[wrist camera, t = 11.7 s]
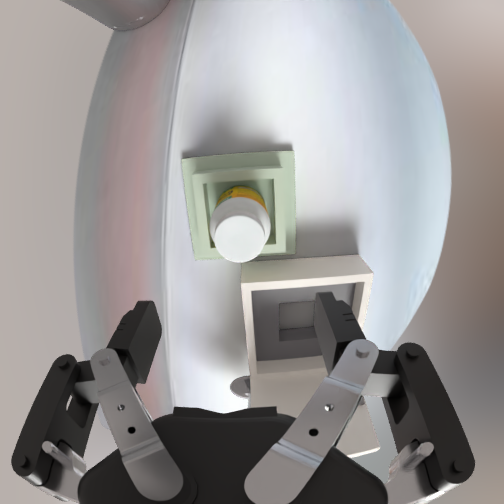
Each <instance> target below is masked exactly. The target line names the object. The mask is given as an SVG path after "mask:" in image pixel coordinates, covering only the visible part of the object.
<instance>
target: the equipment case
mask: <svg viewBox="0 0 504 504" xmlns="http://www.w3.org/2000/svg"><path fill="white" fill-rule="evenodd" d="M373 275H374V273H373V272H372V270H371V269H370V268H369V266H368V265H367V264H366V263H365V261H364V260H363V259H362V258H361V256H360V255H359V254H357V255H342V256H328V257H313V258H298V259H283V260H267V261H250V262H242V263H241V292H242V302H243V312H244V322H245V332H246V342H247V352H248V361H249V371H250V386H251V408H255V407H271V406H277V413H281V414H286V415H289V416H292V417H295V418H297V417H298V416H299V414H300V413H301V412H302V410H303V409H304V407H305V406H306V405H307V403H308V402H309V400H310V399H311V397H312V396H313V394H314V393H315V391H316V390H317V388H318V387H319V385H320V384H321V382H322V381H323V379H324V378H325V377H326V376H328V373H327V369H326V366H325V362H324V359H323V355H322V352H321V348H320V345H319V342H318V338H317V335H316V332H315V328H314V327H306V328H295V329H283V330H279V304H280V303H293V302H305V301H315V297H316V293H317V292H327V291H332V293H333V295H334V297H335V299H336V301H339V300H343V301H344V302H345V303H347V304H348V305H349V306H350V308H351V309H352V311H353V314H354V315H355V317H356V320H357V321H358V323H359V325H360V327H361V330H363V326H364V321H365V317H366V312H367V307H368V302H369V297H370V292H371V286H372V281H373ZM336 448H337V449H338V450H340V451H341V452H342V453H344V454H345V455H347V456H348V457H349V458H351V457H356V456H359V455H364V454H368V453H372V452H375V451H378V450H379V448H380V444H379V442H378V438H377V435H376V432H375V429H374V426H373V424H372V420H371V417H370V414H369V411H368V408H367V405H366V402H365V400H364V397H362V399H361V401H360V403H359V405H358V407H357V409H356V411H355V413H354V415H353V417H352V419H351V421H350V423H349V424H348V426H347V428H346V430H345V432H344V434H343V436H342V438H341V440H340V441H339V443H338V445H337V446H336Z"/></svg>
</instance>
